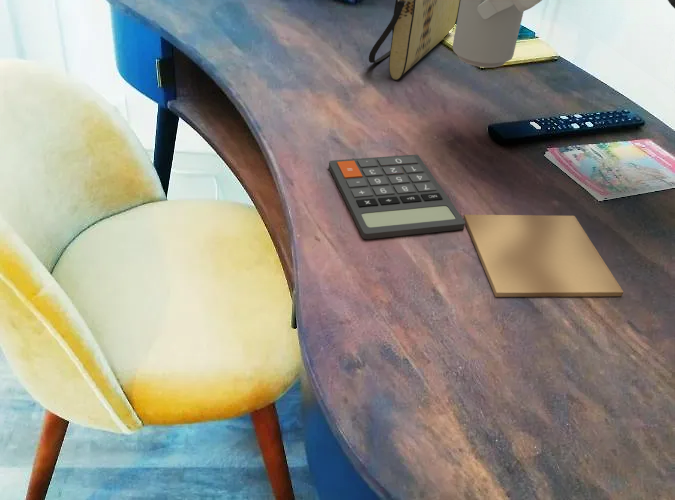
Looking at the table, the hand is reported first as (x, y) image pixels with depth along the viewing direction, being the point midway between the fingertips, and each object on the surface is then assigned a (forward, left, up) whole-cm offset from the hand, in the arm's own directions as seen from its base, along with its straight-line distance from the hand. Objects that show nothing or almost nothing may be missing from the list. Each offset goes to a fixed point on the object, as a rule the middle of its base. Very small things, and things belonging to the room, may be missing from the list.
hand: (486, 2), depth 77 cm
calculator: (+11, +15, -18) cm, 26 cm away
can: (-1, 0, -7) cm, 7 cm away
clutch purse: (+1, -30, -18) cm, 35 cm away
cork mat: (-3, +25, -18) cm, 31 cm away
